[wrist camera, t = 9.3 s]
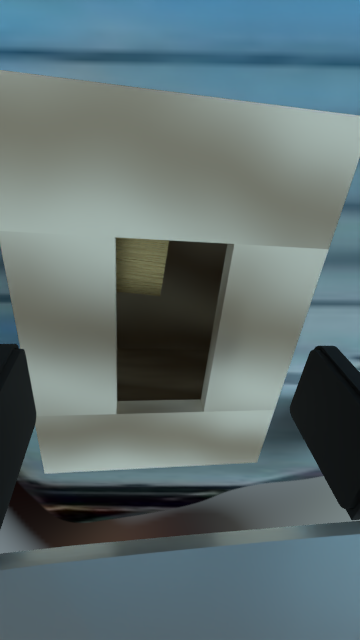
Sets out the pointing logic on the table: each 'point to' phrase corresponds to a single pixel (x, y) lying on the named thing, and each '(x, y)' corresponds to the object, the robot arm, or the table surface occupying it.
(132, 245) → the yellow flat block
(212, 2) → the table surface
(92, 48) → the table surface
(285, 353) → the box
